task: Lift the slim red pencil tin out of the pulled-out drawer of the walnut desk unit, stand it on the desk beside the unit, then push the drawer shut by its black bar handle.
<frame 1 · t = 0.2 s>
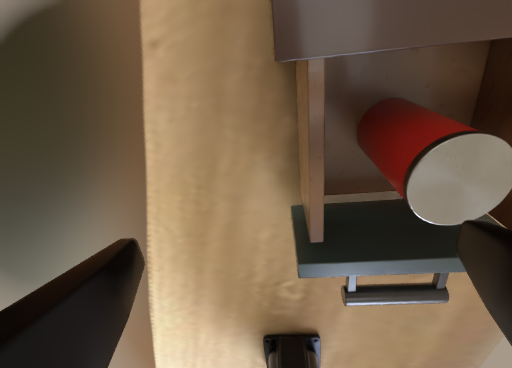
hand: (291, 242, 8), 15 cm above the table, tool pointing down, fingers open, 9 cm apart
drawer: (399, 167, 17), point 4 cm above the table, slide at 11.5 cm, touching pencil tin
pencil tin: (388, 129, 19), point 2 cm above the table, touching drawer
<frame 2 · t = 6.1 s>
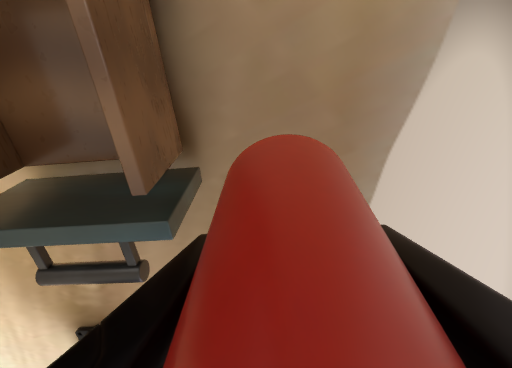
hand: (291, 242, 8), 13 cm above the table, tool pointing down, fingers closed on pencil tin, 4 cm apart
drawer: (52, 126, 16), point 4 cm above the table, slide at 11.1 cm
pencil tin: (286, 193, 9), point 11 cm above the table, touching gripper
when the fingers open (2 cm above the table, at t = 9.2 s): pencil tin stays where it is, on the table.
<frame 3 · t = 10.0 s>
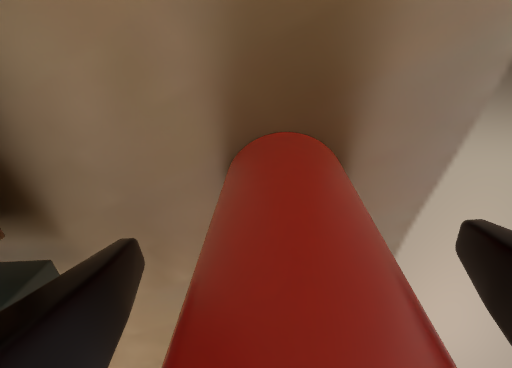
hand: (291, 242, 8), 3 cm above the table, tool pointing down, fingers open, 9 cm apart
pencil tin: (284, 188, 10), on the table
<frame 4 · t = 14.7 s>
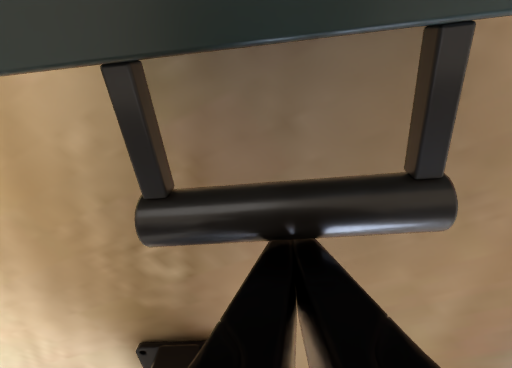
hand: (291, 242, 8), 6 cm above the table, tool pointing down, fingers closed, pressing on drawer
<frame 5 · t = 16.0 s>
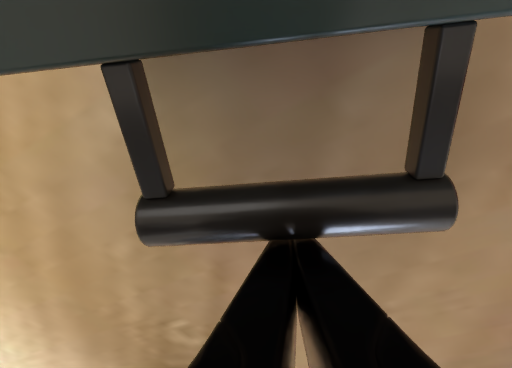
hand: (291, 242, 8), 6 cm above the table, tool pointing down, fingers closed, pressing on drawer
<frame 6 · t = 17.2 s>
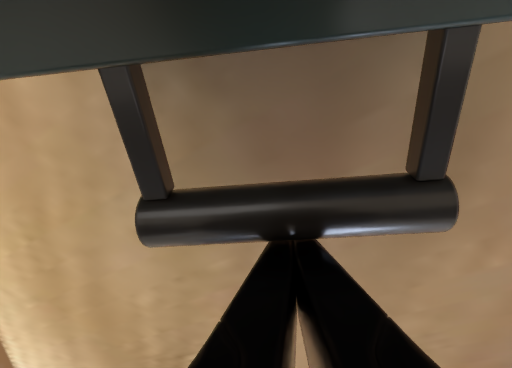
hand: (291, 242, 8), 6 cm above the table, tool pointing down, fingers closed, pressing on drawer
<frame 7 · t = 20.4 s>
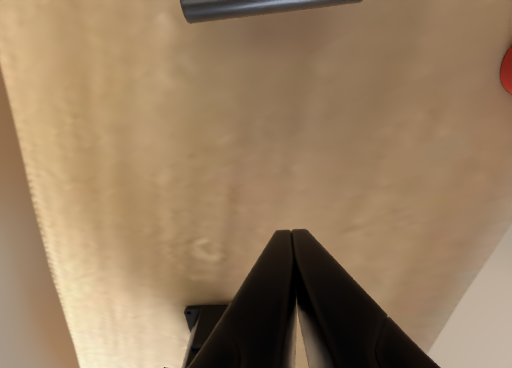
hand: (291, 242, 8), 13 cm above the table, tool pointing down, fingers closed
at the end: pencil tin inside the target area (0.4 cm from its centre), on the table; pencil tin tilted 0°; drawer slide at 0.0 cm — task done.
